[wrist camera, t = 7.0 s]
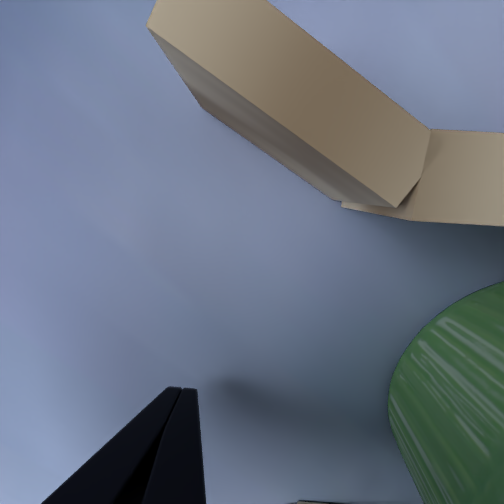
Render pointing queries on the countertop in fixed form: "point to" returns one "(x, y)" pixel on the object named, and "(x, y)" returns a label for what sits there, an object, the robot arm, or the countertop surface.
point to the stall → (326, 116)
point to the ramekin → (454, 402)
